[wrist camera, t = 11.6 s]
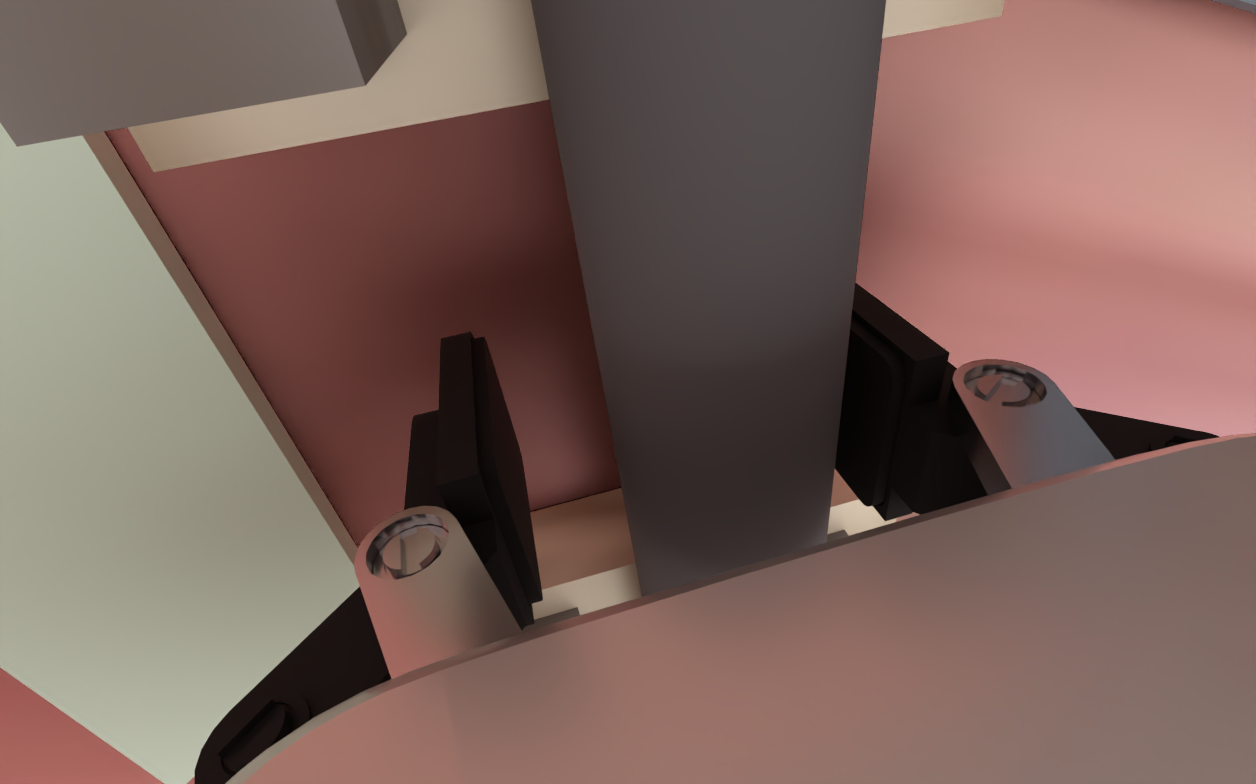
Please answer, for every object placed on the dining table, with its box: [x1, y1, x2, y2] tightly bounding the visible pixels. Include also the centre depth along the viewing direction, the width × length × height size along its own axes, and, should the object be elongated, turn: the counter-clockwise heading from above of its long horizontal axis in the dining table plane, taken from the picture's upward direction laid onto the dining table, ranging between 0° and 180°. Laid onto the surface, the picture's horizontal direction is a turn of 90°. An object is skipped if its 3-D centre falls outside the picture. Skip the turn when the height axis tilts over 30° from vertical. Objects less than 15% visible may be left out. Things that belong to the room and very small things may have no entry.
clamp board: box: [0, 0, 1005, 633], centre depth 10 cm, size 12×18×7 cm, turn 7°
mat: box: [0, 123, 360, 784], centre depth 14 cm, size 8×22×1 cm, turn 7°
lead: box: [531, 0, 886, 597], centre depth 10 cm, size 17×4×4 cm, turn 7°
